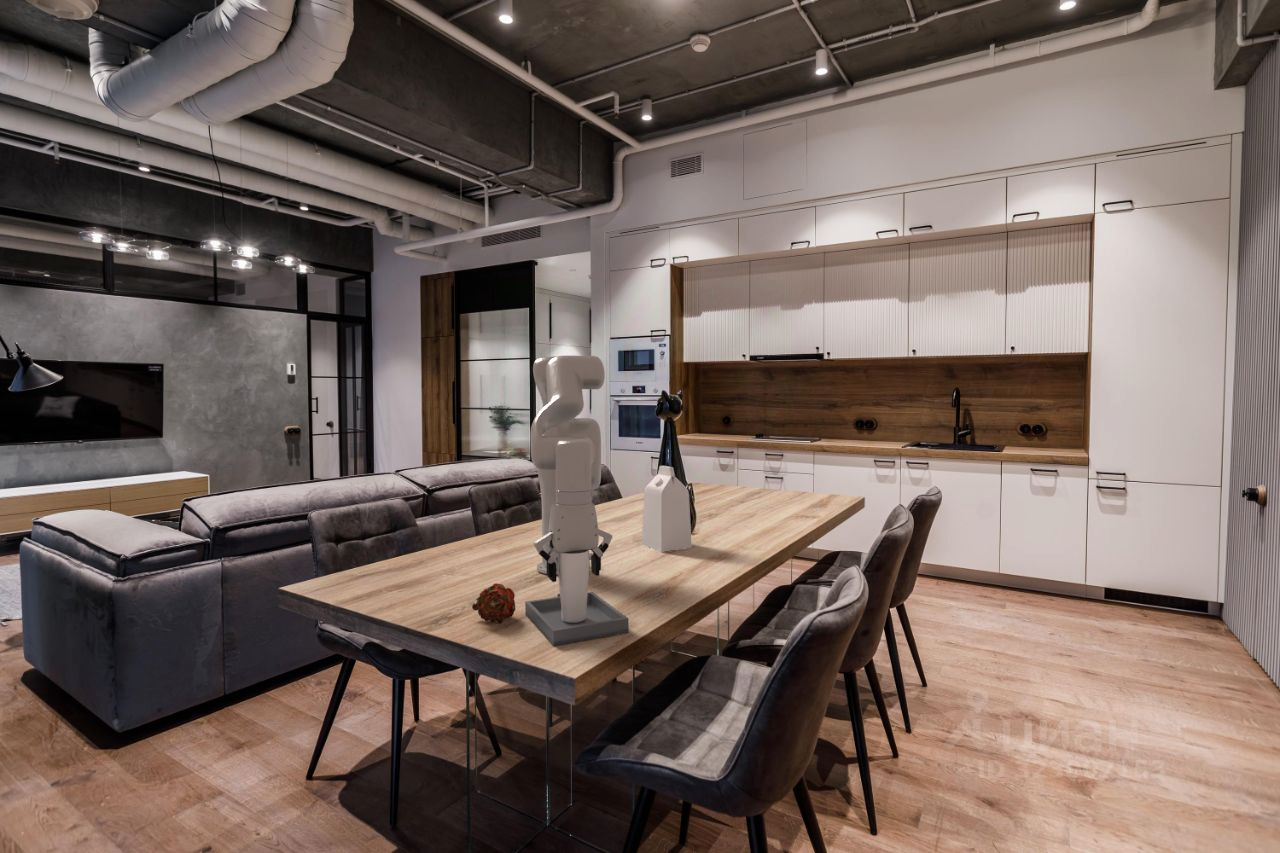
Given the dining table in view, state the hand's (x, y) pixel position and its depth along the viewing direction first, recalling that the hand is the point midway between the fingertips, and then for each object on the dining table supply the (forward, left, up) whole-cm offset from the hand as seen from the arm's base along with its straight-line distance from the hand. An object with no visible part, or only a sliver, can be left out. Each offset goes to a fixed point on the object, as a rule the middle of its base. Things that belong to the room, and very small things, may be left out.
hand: (574, 577), depth 137 cm
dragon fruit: (+15, -9, -10) cm, 20 cm away
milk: (-51, -53, -10) cm, 74 cm away
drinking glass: (0, 0, -9) cm, 9 cm away
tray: (0, +1, -10) cm, 10 cm away
